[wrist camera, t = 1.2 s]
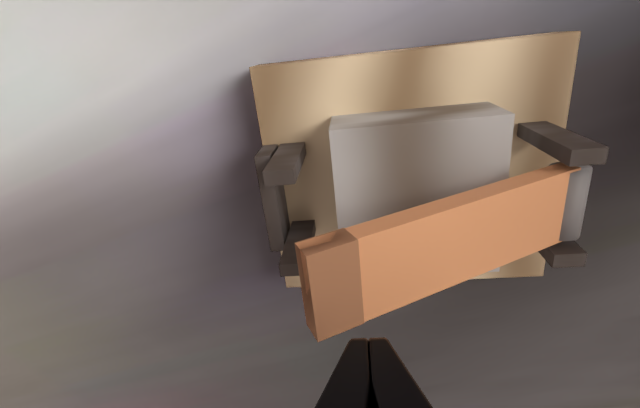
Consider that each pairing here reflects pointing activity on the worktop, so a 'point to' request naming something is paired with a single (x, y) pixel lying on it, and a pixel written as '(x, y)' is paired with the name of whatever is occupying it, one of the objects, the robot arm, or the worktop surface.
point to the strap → (436, 245)
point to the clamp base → (413, 84)
